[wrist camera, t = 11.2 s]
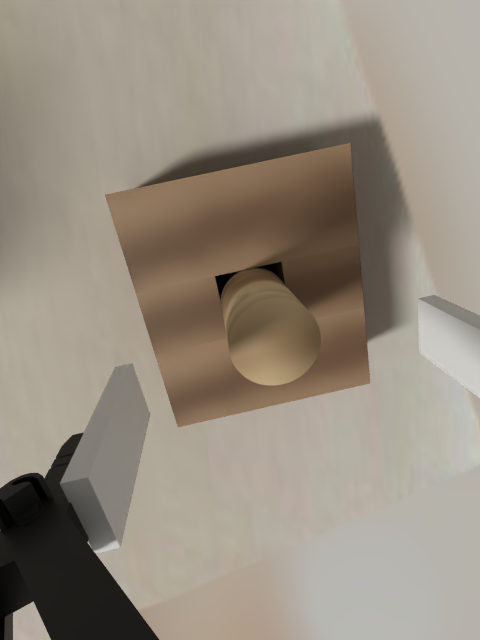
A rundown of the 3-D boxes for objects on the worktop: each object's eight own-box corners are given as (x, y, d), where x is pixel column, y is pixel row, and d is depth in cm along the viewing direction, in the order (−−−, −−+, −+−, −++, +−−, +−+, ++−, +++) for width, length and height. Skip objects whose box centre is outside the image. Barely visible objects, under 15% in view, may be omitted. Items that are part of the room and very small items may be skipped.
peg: (211, 261, 31) (218, 310, 17) (267, 248, 31) (315, 289, 18) (223, 313, 32) (238, 395, 19) (276, 302, 32) (326, 374, 19)
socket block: (124, 194, 28) (104, 194, 22) (321, 153, 29) (350, 142, 23) (182, 389, 34) (178, 427, 29) (343, 352, 35) (370, 383, 29)
